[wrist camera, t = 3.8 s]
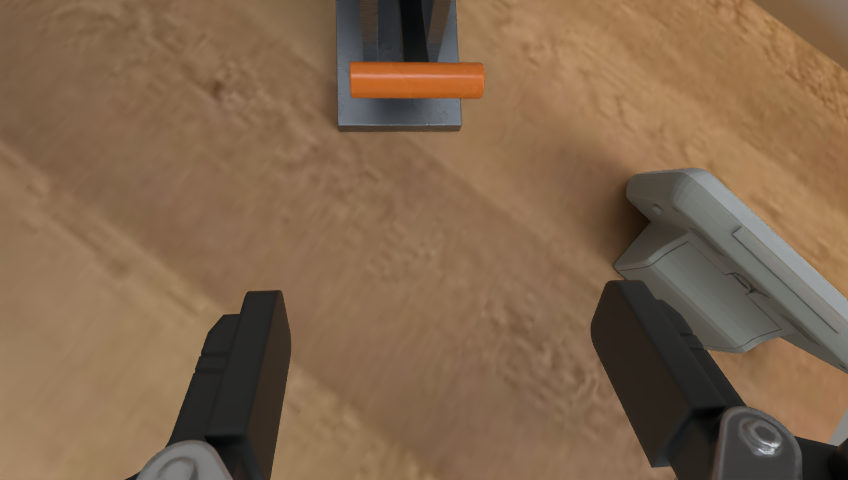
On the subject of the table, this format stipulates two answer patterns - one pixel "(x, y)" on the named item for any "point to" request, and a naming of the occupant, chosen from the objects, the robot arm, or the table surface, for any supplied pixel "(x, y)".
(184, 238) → the table surface
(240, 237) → the table surface
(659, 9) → the table surface
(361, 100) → the switch bracket
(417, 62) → the switch lever
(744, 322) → the digital clock
